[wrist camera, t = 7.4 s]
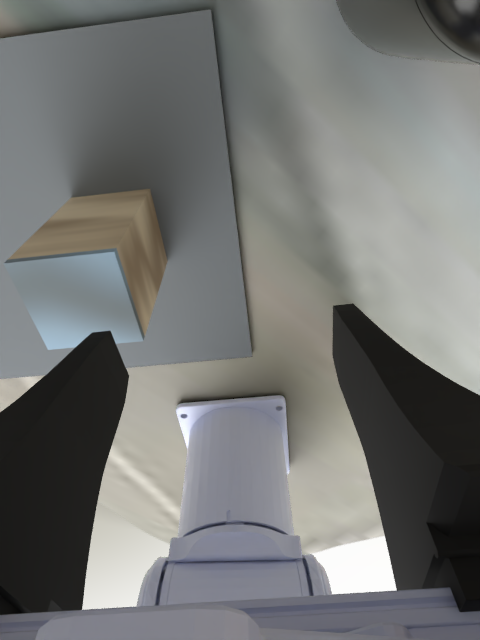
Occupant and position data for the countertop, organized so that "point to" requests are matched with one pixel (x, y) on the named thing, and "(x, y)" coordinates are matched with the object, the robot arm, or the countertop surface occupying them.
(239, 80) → the countertop surface
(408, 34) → the supplement bottle
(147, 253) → the beech block
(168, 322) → the rubber mat
